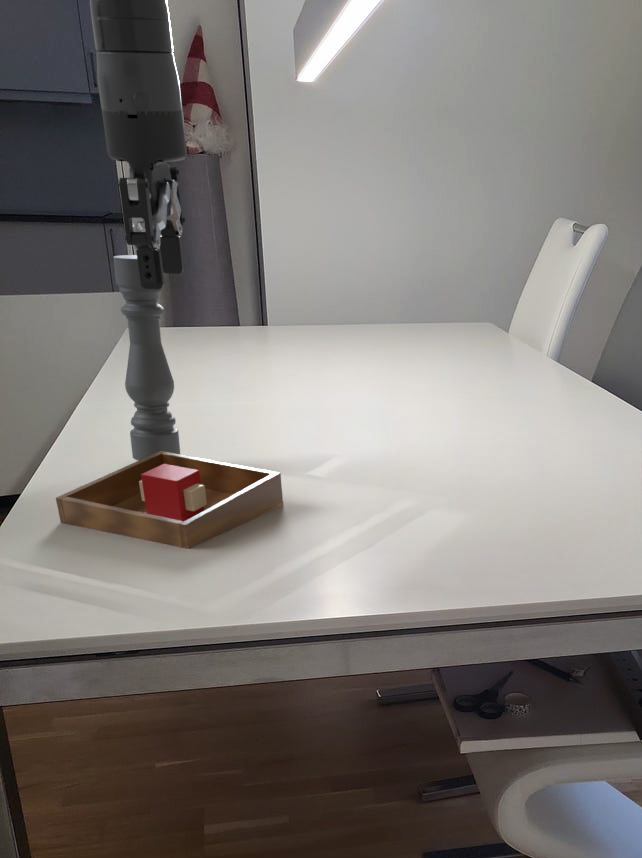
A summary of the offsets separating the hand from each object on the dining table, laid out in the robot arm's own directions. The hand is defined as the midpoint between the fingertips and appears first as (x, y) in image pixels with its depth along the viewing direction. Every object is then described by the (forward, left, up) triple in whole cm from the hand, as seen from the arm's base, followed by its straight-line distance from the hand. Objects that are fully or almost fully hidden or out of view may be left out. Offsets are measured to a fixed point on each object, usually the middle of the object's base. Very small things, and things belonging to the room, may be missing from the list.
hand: (163, 280), depth 109 cm
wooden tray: (-1, -2, -26) cm, 26 cm away
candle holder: (-17, +14, -26) cm, 35 cm away
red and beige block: (-1, -2, -26) cm, 26 cm away
